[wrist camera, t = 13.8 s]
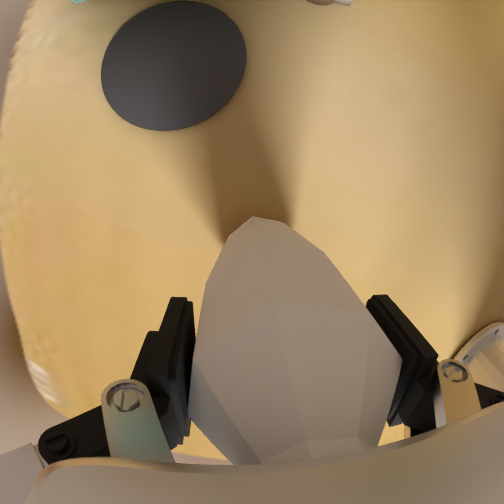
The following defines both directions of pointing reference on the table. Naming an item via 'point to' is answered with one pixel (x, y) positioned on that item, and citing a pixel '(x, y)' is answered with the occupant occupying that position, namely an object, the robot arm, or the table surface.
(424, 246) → the table surface
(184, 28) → the dark grey disc
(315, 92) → the table surface
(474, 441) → the robot arm
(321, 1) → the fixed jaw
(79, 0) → the bar
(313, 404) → the white bottle
